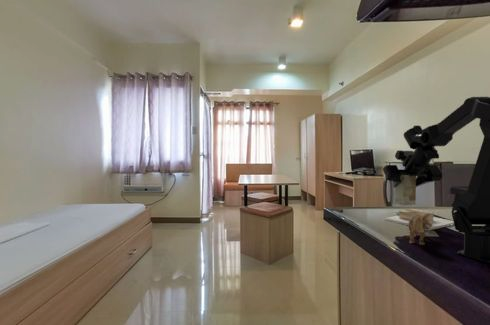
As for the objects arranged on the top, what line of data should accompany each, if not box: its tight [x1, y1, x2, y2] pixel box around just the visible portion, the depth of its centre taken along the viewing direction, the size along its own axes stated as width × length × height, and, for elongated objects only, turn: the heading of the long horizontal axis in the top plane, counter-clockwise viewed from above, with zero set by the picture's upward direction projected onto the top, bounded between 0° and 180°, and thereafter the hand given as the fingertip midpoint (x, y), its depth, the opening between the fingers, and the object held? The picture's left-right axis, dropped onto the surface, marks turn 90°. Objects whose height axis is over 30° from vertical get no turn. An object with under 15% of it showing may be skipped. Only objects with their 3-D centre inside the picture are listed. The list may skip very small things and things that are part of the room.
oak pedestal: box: [398, 208, 434, 222], centre depth 101 cm, size 8×8×3 cm
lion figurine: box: [408, 215, 432, 246], centre depth 79 cm, size 15×5×9 cm, turn 152°
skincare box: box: [393, 176, 417, 206], centre depth 101 cm, size 6×4×12 cm
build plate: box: [384, 215, 454, 231], centre depth 100 cm, size 18×16×1 cm
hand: (403, 186), depth 102 cm, fingers closed on skincare box, 7 cm apart
